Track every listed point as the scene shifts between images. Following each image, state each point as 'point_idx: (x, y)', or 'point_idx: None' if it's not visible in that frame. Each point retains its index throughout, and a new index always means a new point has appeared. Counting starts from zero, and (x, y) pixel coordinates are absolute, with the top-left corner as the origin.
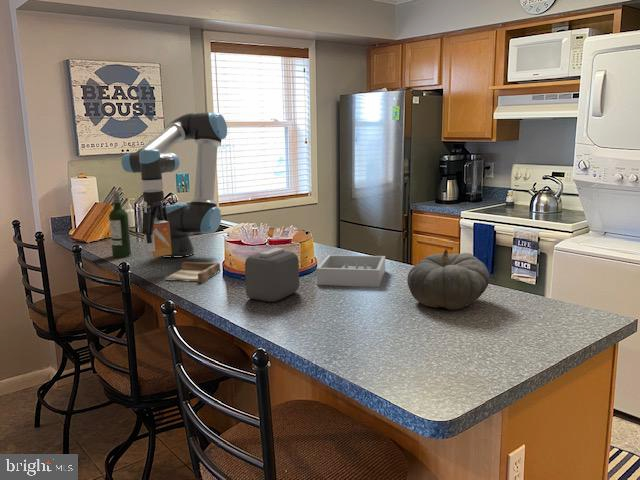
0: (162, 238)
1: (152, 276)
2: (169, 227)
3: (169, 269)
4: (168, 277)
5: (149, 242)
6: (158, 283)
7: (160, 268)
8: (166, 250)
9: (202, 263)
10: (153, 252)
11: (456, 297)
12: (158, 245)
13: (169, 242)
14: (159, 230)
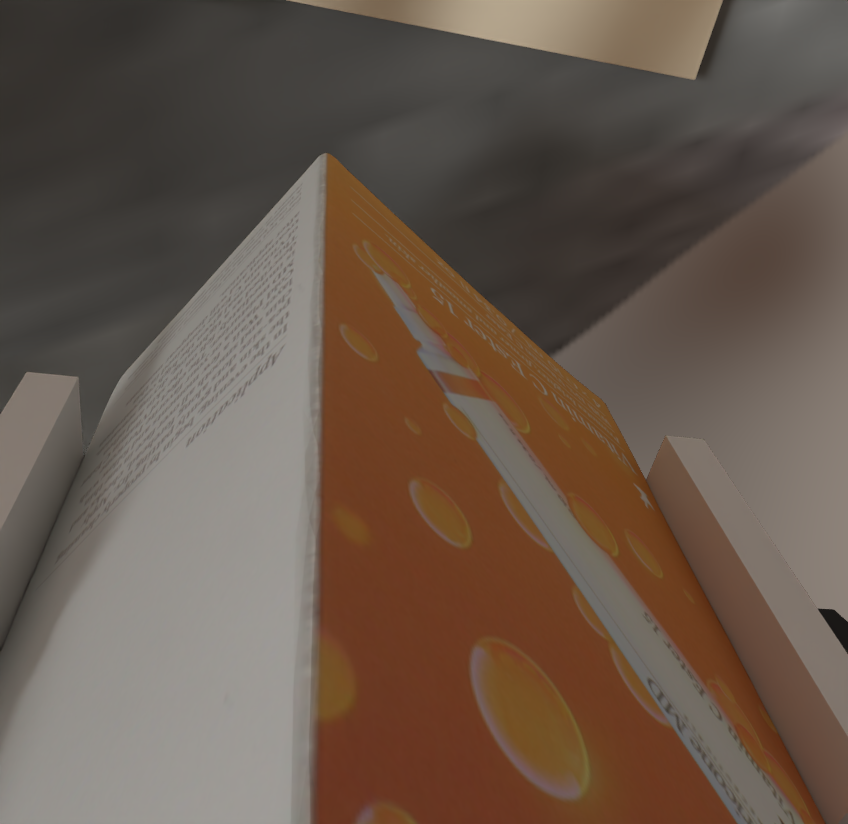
0: (545, 509)
1: None
2: (317, 665)
3: (38, 219)
4: (674, 34)
5: (845, 642)
6: (803, 124)
7: (11, 356)
8: (426, 270)
9: None
10: (627, 452)
11: None
12: (590, 465)
13: (363, 287)
14: (708, 808)
